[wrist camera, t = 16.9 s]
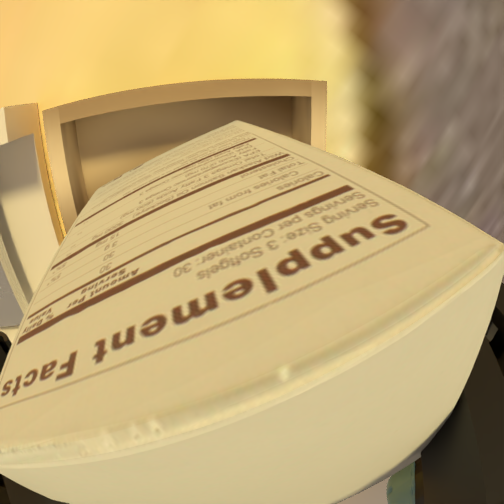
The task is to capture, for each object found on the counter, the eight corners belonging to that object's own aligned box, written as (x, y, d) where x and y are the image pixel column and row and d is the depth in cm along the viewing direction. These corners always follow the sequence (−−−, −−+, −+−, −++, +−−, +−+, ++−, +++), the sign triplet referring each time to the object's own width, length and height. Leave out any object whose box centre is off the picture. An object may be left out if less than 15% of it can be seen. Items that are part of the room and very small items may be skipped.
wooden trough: (294, 276, 21) (313, 303, 19) (110, 307, 19) (105, 340, 16) (299, 82, 15) (326, 81, 12) (64, 107, 12) (42, 110, 10)
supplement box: (286, 245, 17) (436, 450, 6) (162, 301, 16) (201, 546, 6) (240, 114, 13) (530, 238, 2) (91, 184, 12) (-36, 468, 2)
